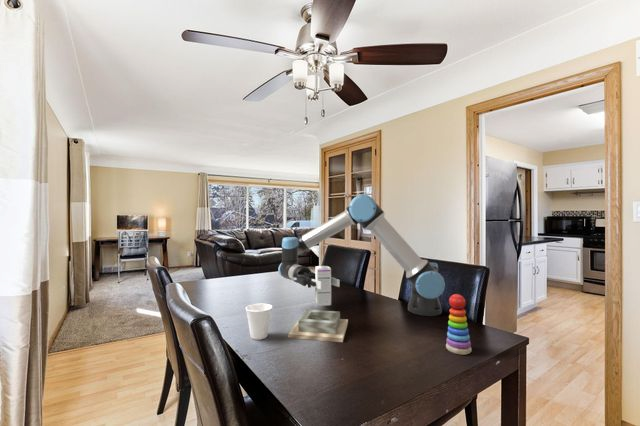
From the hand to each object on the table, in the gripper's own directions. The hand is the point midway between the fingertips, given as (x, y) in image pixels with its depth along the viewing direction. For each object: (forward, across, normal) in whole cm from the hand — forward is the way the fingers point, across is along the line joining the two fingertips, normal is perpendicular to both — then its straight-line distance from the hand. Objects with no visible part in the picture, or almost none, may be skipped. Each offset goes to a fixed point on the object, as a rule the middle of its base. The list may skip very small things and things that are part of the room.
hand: (330, 284), depth 120 cm
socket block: (-5, +1, -19) cm, 19 cm away
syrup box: (-5, 0, -9) cm, 10 cm away
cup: (-11, +24, -19) cm, 33 cm away
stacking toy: (+36, -27, -18) cm, 49 cm away
